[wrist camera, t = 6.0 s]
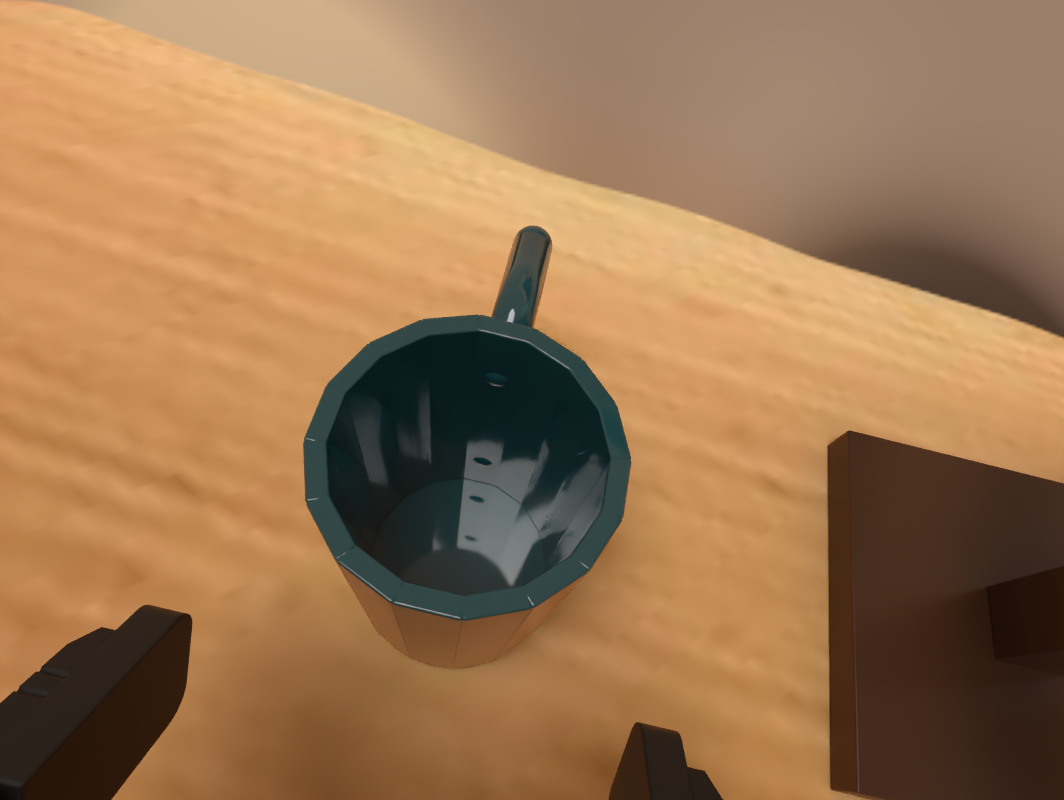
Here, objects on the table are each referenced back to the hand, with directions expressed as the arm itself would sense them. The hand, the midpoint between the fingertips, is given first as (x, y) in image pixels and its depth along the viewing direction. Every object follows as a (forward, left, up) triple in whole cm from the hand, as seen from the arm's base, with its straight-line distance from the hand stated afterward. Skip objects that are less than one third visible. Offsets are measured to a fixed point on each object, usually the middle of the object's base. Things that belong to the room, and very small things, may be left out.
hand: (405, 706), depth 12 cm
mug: (-3, -6, -9) cm, 12 cm away
